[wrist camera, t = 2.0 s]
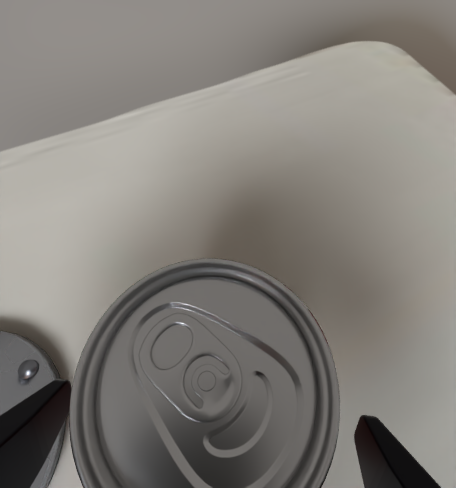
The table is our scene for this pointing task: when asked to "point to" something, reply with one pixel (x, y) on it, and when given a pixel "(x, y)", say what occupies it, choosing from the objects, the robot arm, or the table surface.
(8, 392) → the flange
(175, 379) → the soda can
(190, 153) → the table surface
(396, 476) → the robot arm
